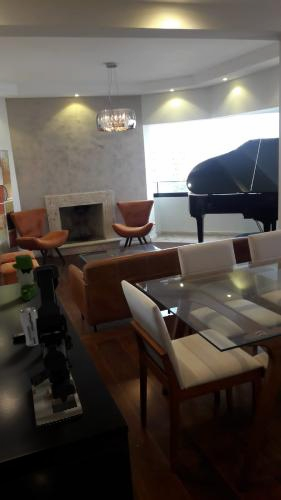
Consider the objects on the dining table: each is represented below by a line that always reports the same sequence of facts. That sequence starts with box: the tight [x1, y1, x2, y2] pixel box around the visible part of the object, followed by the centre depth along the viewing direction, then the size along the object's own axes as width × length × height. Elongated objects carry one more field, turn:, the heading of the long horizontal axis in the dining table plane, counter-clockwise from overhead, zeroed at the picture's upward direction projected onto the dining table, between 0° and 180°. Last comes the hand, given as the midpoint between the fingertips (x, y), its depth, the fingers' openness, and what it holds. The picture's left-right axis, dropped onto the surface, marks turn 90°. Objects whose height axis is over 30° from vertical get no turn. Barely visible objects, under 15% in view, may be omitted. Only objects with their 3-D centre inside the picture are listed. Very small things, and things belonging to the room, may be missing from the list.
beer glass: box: [19, 306, 39, 348], centre depth 160 cm, size 7×7×15 cm
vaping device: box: [39, 330, 46, 355], centre depth 152 cm, size 3×5×12 cm, turn 135°
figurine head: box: [12, 254, 38, 302], centre depth 225 cm, size 22×12×25 cm, turn 10°
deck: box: [31, 372, 84, 426], centre depth 119 cm, size 23×13×4 cm, turn 19°
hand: (64, 401), depth 112 cm, fingers closed
